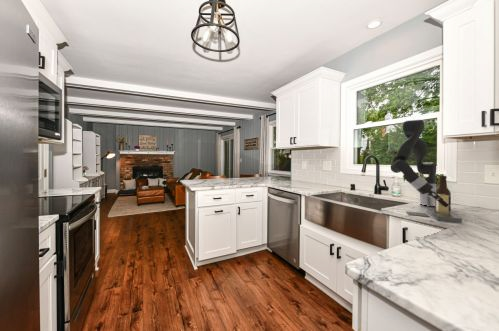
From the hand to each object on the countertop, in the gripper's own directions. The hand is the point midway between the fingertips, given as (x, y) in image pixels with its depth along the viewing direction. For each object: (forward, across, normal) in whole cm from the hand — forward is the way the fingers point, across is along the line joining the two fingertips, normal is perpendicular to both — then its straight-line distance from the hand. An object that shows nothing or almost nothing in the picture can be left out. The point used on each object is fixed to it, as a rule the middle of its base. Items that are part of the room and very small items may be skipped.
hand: (445, 205), depth 128 cm
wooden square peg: (+4, 0, +6) cm, 7 cm away
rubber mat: (-4, 0, +14) cm, 15 cm away
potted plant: (+8, +20, +3) cm, 22 cm away
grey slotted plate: (+4, 0, +6) cm, 7 cm away
